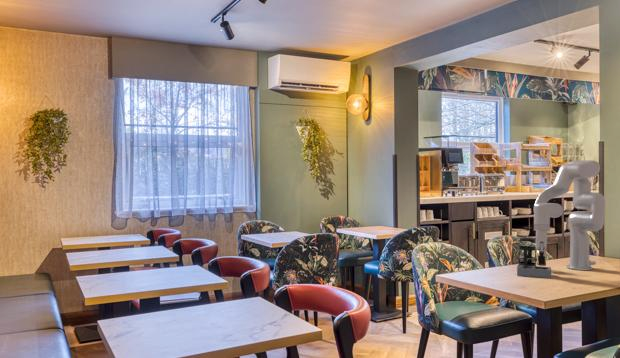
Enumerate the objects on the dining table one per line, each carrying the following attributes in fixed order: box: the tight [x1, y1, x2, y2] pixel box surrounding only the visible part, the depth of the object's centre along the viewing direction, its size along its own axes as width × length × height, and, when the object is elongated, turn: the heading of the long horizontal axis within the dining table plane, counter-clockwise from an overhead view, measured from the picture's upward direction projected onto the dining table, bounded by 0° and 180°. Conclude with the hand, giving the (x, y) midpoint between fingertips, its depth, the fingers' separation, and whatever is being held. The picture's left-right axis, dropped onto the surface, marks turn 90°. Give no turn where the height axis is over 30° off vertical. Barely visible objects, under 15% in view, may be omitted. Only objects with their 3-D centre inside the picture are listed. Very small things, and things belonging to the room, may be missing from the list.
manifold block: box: [516, 264, 552, 279], centre depth 268 cm, size 16×10×4 cm, turn 67°
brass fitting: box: [536, 249, 547, 267], centre depth 267 cm, size 4×4×8 cm
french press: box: [518, 226, 537, 266], centre depth 287 cm, size 12×9×23 cm
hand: (541, 262), depth 267 cm, fingers closed on brass fitting, 4 cm apart
